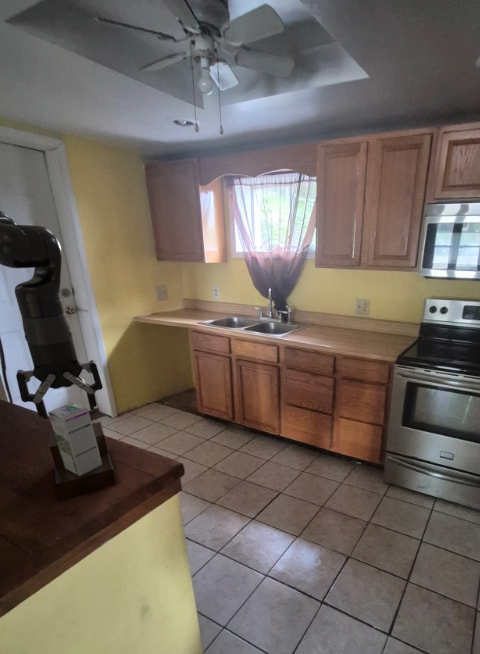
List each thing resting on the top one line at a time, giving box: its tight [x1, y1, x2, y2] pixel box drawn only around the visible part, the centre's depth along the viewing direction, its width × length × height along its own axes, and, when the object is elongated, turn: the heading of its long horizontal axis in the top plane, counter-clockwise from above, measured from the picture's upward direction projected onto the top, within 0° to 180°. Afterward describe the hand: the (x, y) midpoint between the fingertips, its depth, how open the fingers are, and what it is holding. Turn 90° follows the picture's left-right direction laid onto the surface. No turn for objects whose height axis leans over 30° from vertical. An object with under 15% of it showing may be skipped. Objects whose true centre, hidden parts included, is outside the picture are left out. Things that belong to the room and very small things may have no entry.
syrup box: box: [47, 403, 102, 476], centre depth 81 cm, size 6×6×14 cm
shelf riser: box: [49, 421, 117, 500], centre depth 87 cm, size 11×16×9 cm
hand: (69, 413), depth 78 cm, fingers open, 8 cm apart
